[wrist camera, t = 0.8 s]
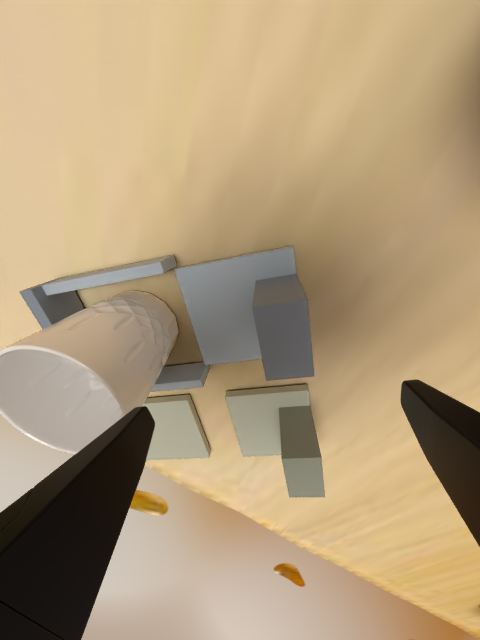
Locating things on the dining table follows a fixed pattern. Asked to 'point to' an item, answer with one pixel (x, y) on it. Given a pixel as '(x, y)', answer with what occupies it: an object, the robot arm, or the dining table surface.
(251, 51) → the dining table surface
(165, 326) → the white cup
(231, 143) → the dining table surface
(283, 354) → the blue-grey angular bracket
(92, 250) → the dining table surface
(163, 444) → the broken strip
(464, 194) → the dining table surface
